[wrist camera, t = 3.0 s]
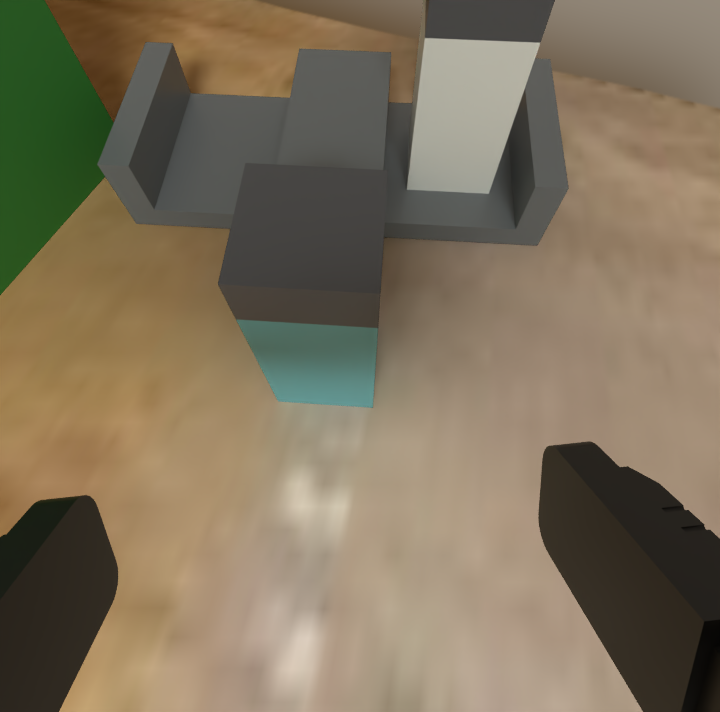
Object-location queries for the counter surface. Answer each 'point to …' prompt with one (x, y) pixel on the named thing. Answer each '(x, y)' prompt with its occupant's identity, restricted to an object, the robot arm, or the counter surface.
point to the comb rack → (321, 148)
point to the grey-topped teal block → (309, 278)
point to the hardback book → (42, 133)
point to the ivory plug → (469, 88)
